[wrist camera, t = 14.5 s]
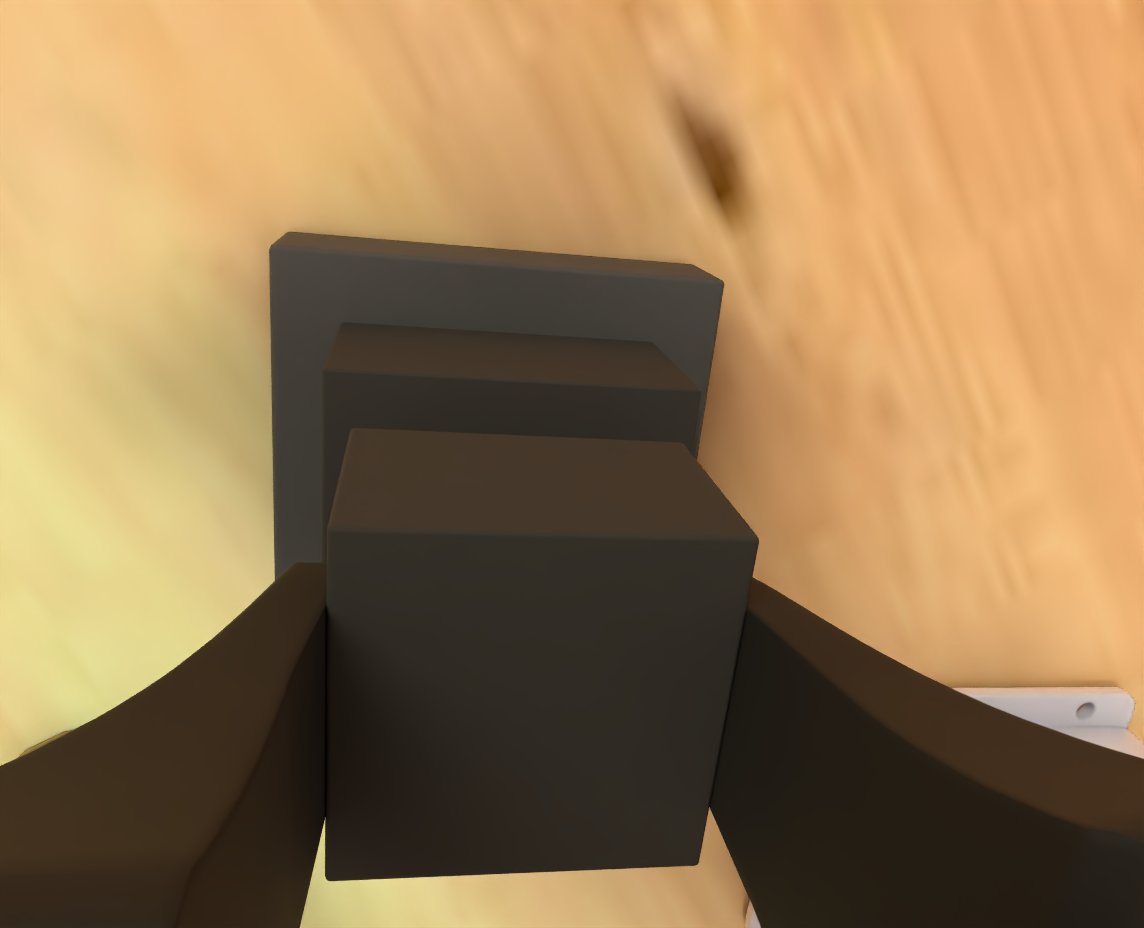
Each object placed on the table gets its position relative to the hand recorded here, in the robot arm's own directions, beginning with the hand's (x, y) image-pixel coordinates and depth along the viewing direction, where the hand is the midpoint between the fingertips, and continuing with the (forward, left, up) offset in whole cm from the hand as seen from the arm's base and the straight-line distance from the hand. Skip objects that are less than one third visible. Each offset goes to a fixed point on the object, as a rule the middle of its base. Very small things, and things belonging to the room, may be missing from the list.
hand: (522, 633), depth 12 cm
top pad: (0, 0, -1) cm, 1 cm away
